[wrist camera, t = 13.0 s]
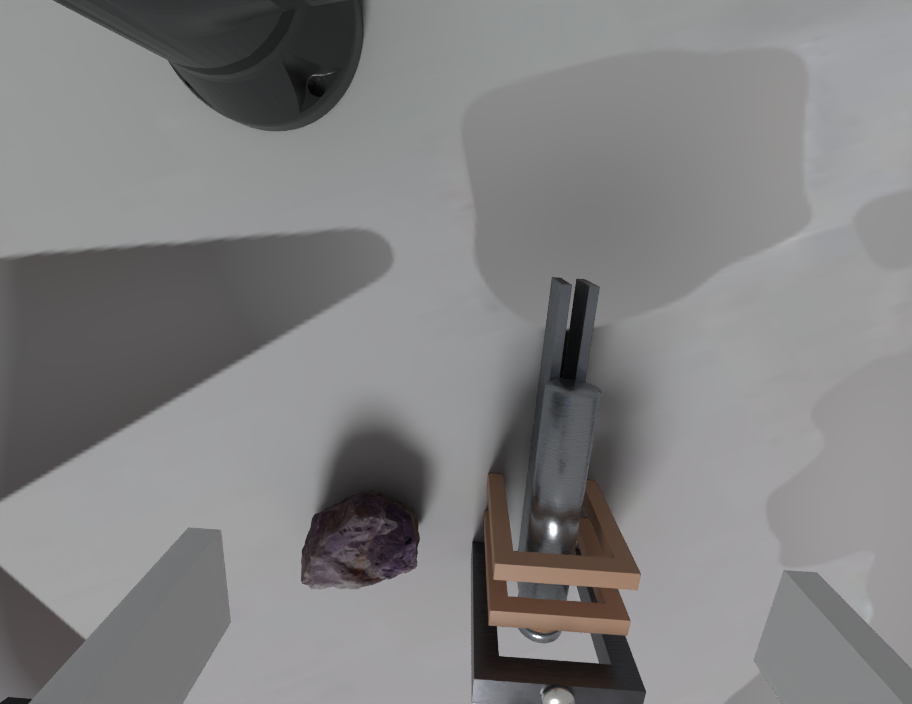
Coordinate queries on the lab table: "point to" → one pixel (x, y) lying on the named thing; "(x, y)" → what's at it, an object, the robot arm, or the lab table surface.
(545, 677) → the dark grey u-shaped frame
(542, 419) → the tube
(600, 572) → the collar
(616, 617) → the collar
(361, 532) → the rock
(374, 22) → the lab table surface
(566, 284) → the rail cradle
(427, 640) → the lab table surface
